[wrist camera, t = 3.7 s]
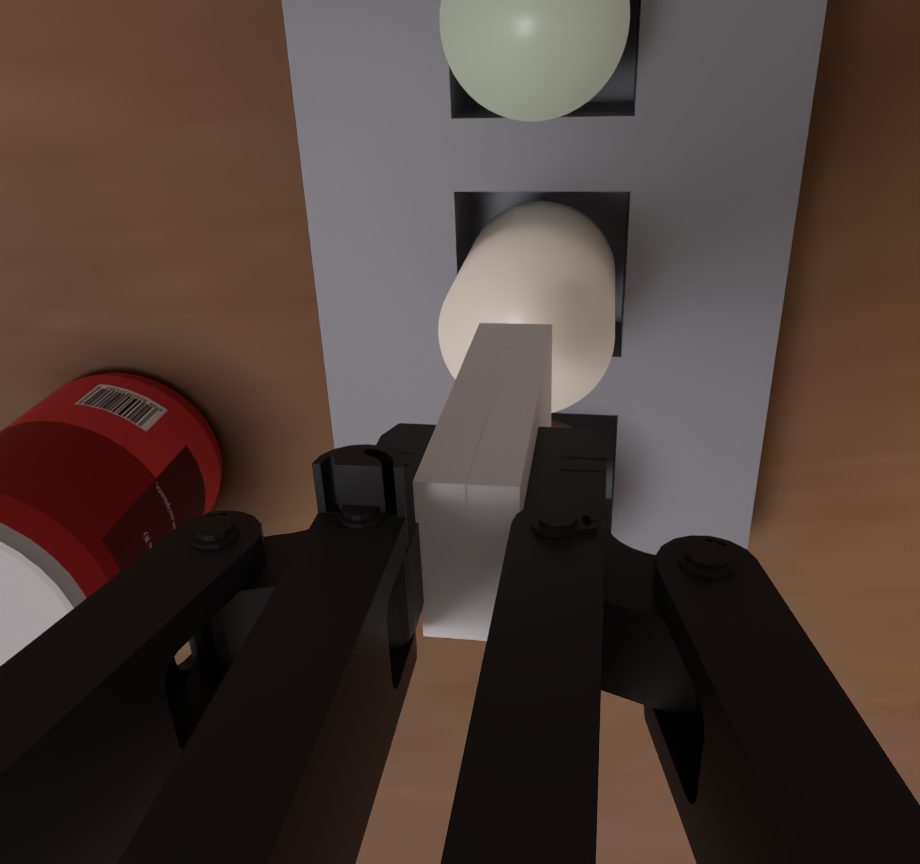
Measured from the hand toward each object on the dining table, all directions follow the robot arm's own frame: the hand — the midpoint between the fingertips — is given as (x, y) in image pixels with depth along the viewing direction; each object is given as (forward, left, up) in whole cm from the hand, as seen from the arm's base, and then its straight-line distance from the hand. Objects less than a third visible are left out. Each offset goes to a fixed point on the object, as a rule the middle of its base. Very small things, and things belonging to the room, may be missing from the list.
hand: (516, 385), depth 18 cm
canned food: (+9, -17, -13) cm, 23 cm away
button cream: (0, 0, -9) cm, 9 cm away
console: (0, 0, -13) cm, 13 cm away
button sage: (-7, 0, -11) cm, 13 cm away
